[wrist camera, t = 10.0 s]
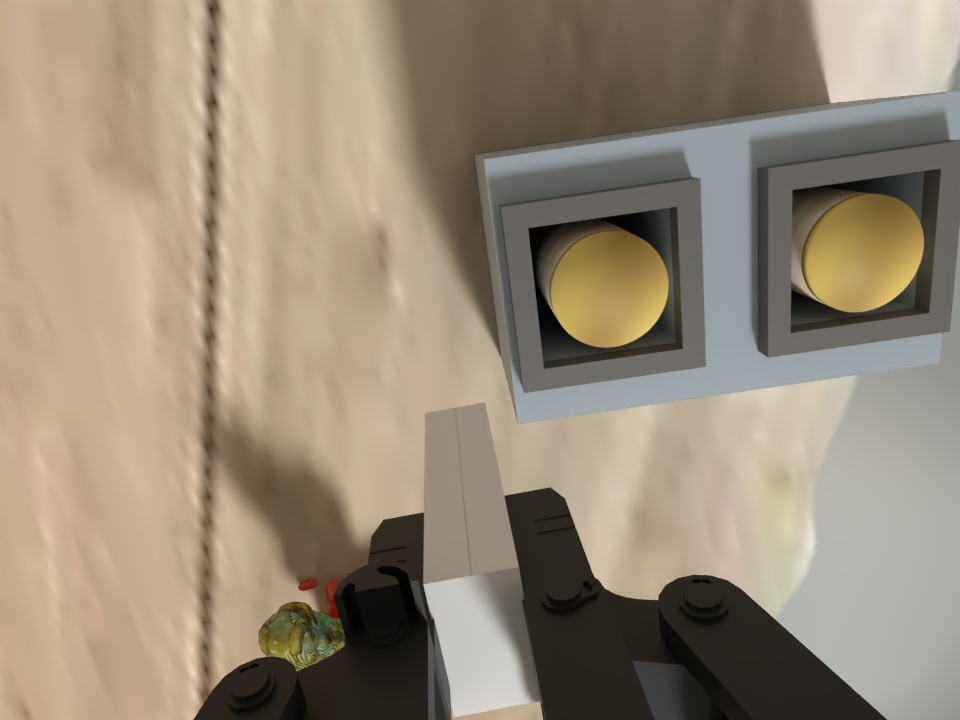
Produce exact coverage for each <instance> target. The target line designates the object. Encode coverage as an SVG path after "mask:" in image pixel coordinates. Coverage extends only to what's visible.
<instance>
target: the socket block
mask: <svg viewBox="0 0 960 720" xmlns="http://www.w3.org/2000/svg"><path fill="white" fill-rule="evenodd" d="M959 136H960V91H952V92H941V93H931V94H920V95H910V96H900V97H890V98H879V99H869V100H859V101H848V102H838V103H829V104H822V105H815V106H808V107H801V108H794V109H787V110H780V111H773V112H766V113H759V114H752V115H745V116H738V117H732V118H725V119H718V120H711V121H704V122H697V123H690V124H683V125H676V126H669V127H662V128H655V129H648V130H641V131H634V132H627V133H621V134H614V135H607V136H600V137H593V138H586V139H579V140H572V141H565V142H558V143H551V144H544V145H537V146H530V147H523V148H516V149H509V150H503V151H496V152H489V153H482V154H475V155H474V156H475V164H476V171H477V179H478V186H479V194H480V201H481V209H482V216H483V224H484V232H485V239H486V247H487V254H488V262H489V269H490V277H491V284H492V292H493V299H494V307H495V314H496V322H497V329H498V337H499V344H500V352H501V359H502V363H503V367H504V371H505V375H506V379H507V383H508V386H509V390H510V394H511V398H512V402H513V406H514V410H515V414H516V418H517V422H518V424H522V423H529V422H536V421H543V420H550V419H557V418H564V417H570V416H577V415H584V414H591V413H598V412H605V411H612V410H619V409H626V408H633V407H639V406H646V405H653V404H660V403H667V402H674V401H681V400H688V399H695V398H701V397H708V396H715V395H722V394H729V393H736V392H743V391H750V390H757V389H763V388H770V387H777V386H784V385H791V384H798V383H805V382H812V381H819V380H826V379H832V378H839V377H846V376H853V375H860V374H867V373H873V372H881V371H887V370H894V369H901V368H908V367H915V366H922V365H929V364H936V363H939V361H940V350H941V339H942V333H943V332H949V331H950V324H951V312H952V302H953V291H954V280H955V269H956V259H957V248H958V237H959V226H960V140H959ZM810 187H824V188H832V189H840V190H848V191H856V192H864V193H872V194H881V195H887V196H891V197H894V198H897V199H899V200H901V201H902V202H904V203H905V204H907V205H908V206H909V207H910V208H911V209H912V210H913V211H914V212H915V214H916V215H917V217H918V219H919V221H920V223H921V226H922V230H923V236H924V249H923V255H922V259H921V263H920V265H919V268H918V270H917V272H916V274H915V276H914V277H913V279H912V280H911V282H910V283H909V284H908V286H907V287H906V288H905V289H904V290H903V291H902V292H901V293H900V294H899V295H898V296H897V297H895V298H894V299H893V300H891V301H890V302H888V303H886V304H885V305H883V306H880V307H878V308H875V309H873V310H869V311H864V312H845V311H840V310H838V309H835V308H832V307H830V306H828V305H825V304H823V303H821V302H818V301H816V300H814V299H812V298H809V297H807V296H805V295H802V294H800V293H798V292H795V291H793V290H791V262H792V190H796V189H803V188H810ZM609 216H616V226H618V227H620V228H622V229H624V230H626V231H628V232H630V233H632V234H634V235H636V236H638V237H640V238H641V239H643V240H645V241H646V242H648V243H649V244H650V245H651V246H652V247H653V248H654V249H655V250H656V251H657V252H658V254H659V255H660V257H661V258H662V260H663V262H664V265H665V267H666V270H667V274H668V282H669V287H668V296H667V301H666V304H665V307H664V309H663V311H662V313H661V315H660V317H659V319H658V320H657V321H656V323H655V324H654V325H653V326H652V327H651V328H650V329H649V330H648V331H647V332H646V333H645V334H644V335H642V336H641V337H639V338H638V339H636V340H634V341H632V342H630V343H627V344H624V345H621V346H617V347H608V348H606V347H595V346H591V345H588V344H585V343H583V342H580V341H578V340H577V339H575V338H574V337H572V336H571V335H570V334H569V333H568V332H567V331H566V330H565V329H564V328H563V327H562V325H561V324H560V322H559V321H558V319H557V318H556V316H555V314H554V313H553V311H552V309H551V308H550V306H549V305H543V306H537V302H536V293H535V284H534V276H533V267H532V258H531V249H530V240H529V231H528V228H533V227H540V226H547V225H553V224H560V223H567V222H574V221H581V220H588V219H595V218H602V217H609Z"/></svg>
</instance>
